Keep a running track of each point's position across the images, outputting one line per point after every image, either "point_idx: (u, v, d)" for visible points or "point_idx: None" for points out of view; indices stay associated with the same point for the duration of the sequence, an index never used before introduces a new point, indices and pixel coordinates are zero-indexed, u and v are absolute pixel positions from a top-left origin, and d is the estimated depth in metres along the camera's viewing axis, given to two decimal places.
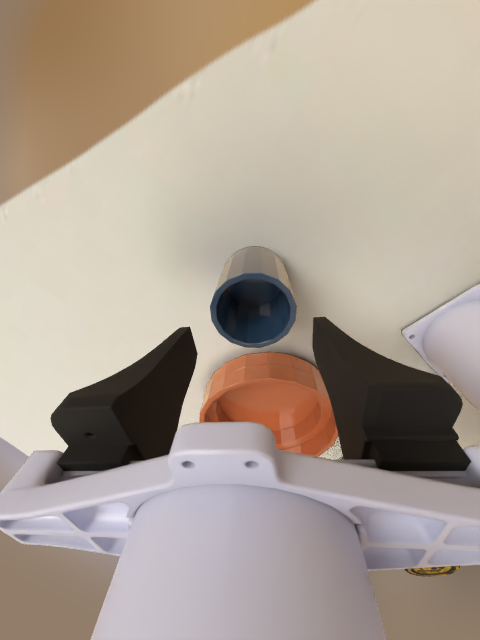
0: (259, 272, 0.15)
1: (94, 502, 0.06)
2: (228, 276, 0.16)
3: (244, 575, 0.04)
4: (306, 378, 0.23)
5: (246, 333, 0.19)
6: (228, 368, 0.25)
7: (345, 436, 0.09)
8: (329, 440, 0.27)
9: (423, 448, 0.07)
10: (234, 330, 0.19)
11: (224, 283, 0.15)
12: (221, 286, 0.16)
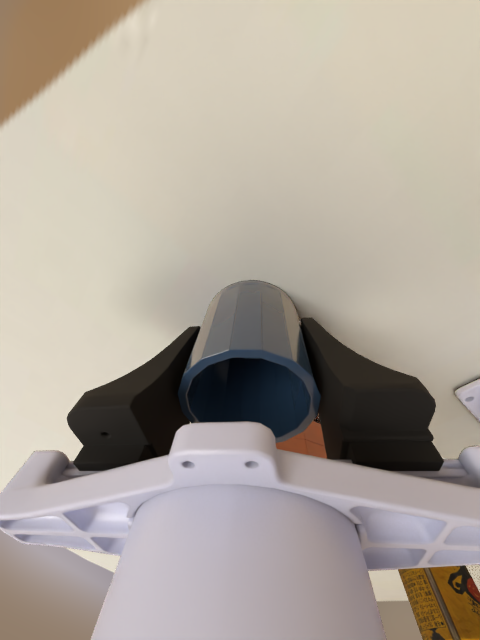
0: (258, 347, 0.09)
1: (94, 502, 0.06)
2: (206, 348, 0.09)
3: (244, 574, 0.04)
4: (324, 457, 0.17)
5: (239, 417, 0.12)
6: None
7: (328, 436, 0.09)
8: None
9: (398, 448, 0.07)
10: (220, 413, 0.12)
11: (198, 363, 0.09)
12: (193, 367, 0.09)
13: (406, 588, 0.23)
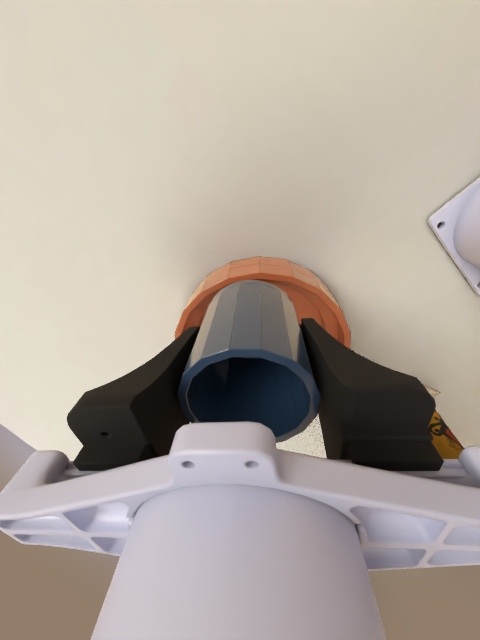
0: (258, 347, 0.09)
1: (94, 502, 0.06)
2: (206, 347, 0.09)
3: (243, 575, 0.04)
4: (307, 278, 0.18)
5: (238, 417, 0.12)
6: (210, 277, 0.20)
7: (327, 436, 0.09)
8: None
9: (398, 448, 0.07)
10: (220, 413, 0.12)
11: (198, 362, 0.09)
12: (193, 366, 0.09)
13: None
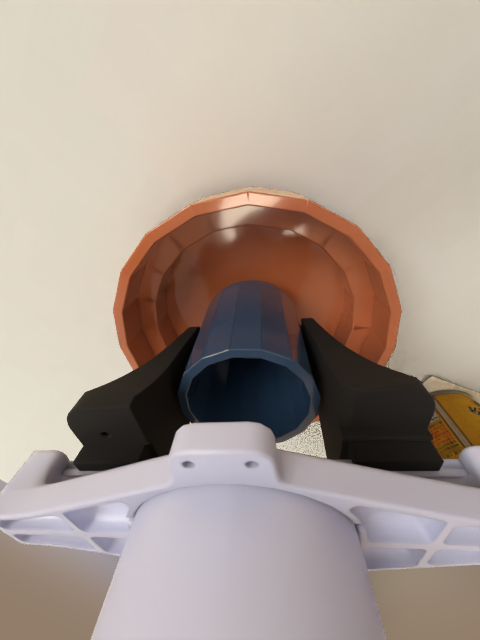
0: (258, 347, 0.09)
1: (94, 502, 0.06)
2: (206, 348, 0.09)
3: (243, 575, 0.04)
4: None
5: (238, 417, 0.12)
6: None
7: (327, 436, 0.09)
8: None
9: (398, 448, 0.07)
10: (220, 413, 0.12)
11: (198, 362, 0.09)
12: (193, 366, 0.09)
13: None
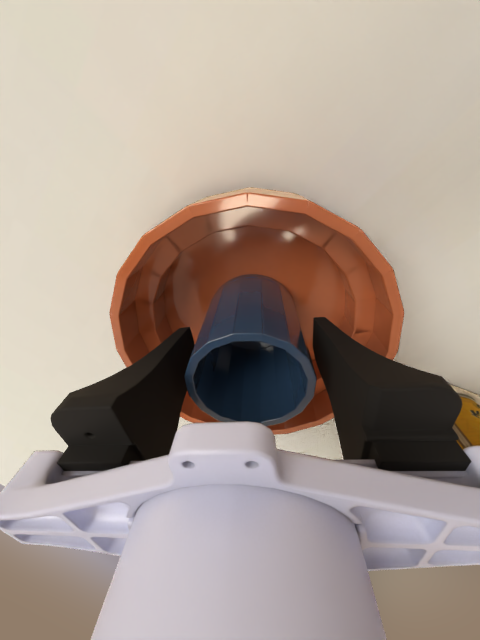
0: (259, 331, 0.09)
1: (94, 502, 0.06)
2: (211, 333, 0.10)
3: (244, 575, 0.04)
4: None
5: (240, 402, 0.13)
6: None
7: (345, 436, 0.09)
8: None
9: (423, 448, 0.07)
10: (223, 398, 0.13)
11: (204, 346, 0.10)
12: (199, 350, 0.10)
13: None
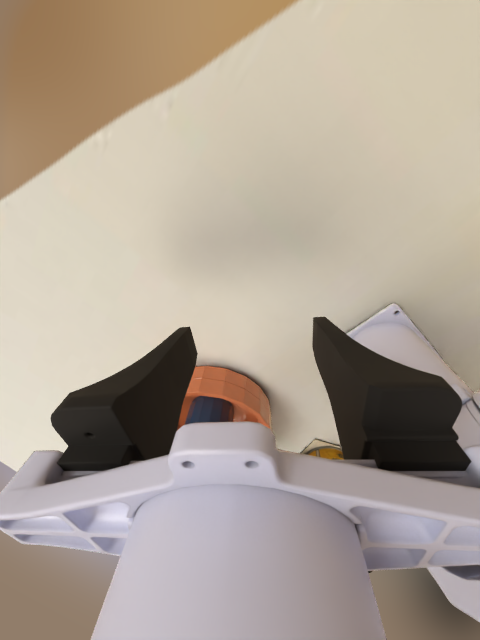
0: None
1: (94, 502, 0.06)
2: None
3: (244, 574, 0.04)
4: (235, 391, 0.25)
5: None
6: None
7: (345, 436, 0.09)
8: None
9: (423, 448, 0.07)
10: None
11: None
12: None
13: None
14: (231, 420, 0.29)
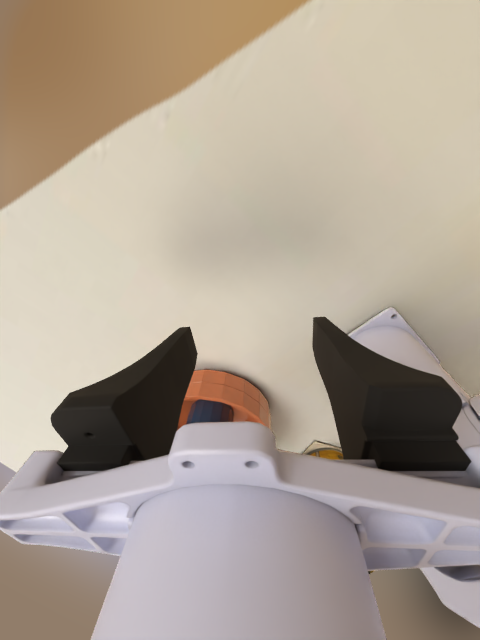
0: None
1: (94, 502, 0.06)
2: None
3: (244, 575, 0.04)
4: (235, 395, 0.26)
5: None
6: None
7: (345, 436, 0.09)
8: None
9: (423, 448, 0.07)
10: None
11: None
12: None
13: None
14: None
